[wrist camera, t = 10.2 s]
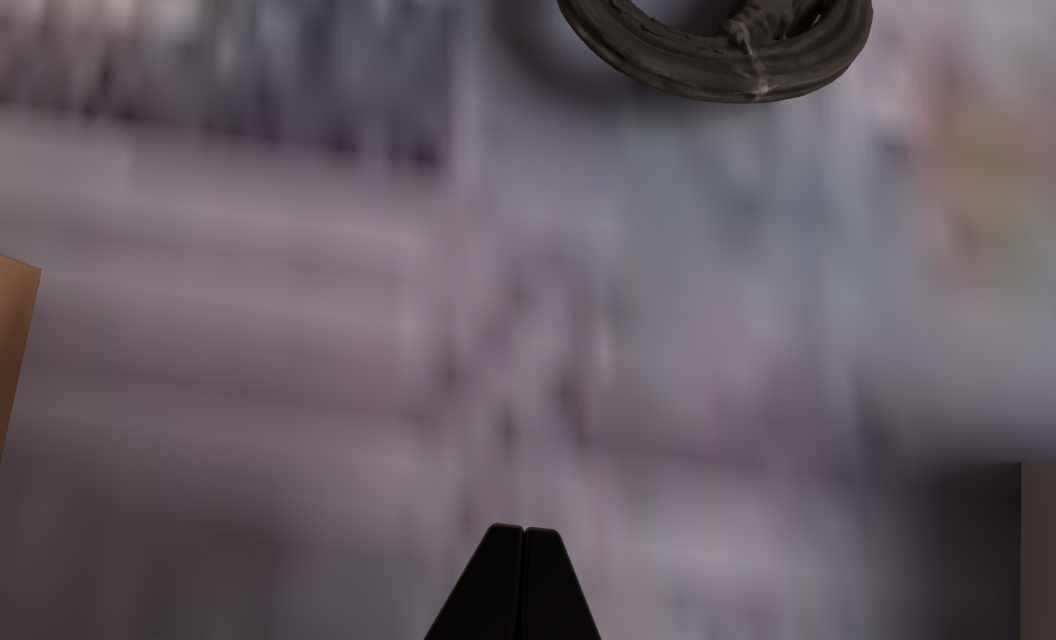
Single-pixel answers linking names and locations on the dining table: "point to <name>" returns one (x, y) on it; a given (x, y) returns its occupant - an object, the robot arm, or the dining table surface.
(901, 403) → the dining table surface
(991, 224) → the dining table surface
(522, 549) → the robot arm
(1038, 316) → the dining table surface
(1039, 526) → the beige block
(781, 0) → the milk frother
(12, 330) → the walnut block
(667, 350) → the dining table surface
